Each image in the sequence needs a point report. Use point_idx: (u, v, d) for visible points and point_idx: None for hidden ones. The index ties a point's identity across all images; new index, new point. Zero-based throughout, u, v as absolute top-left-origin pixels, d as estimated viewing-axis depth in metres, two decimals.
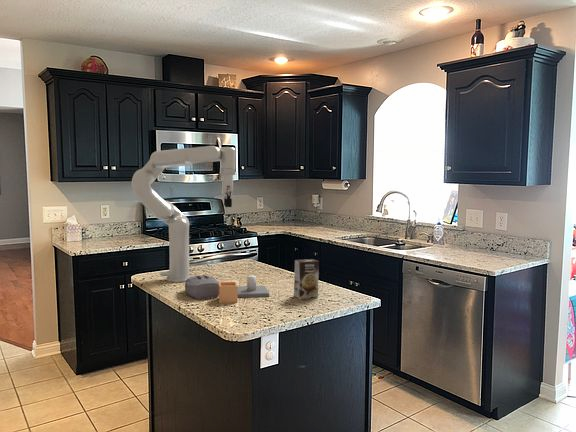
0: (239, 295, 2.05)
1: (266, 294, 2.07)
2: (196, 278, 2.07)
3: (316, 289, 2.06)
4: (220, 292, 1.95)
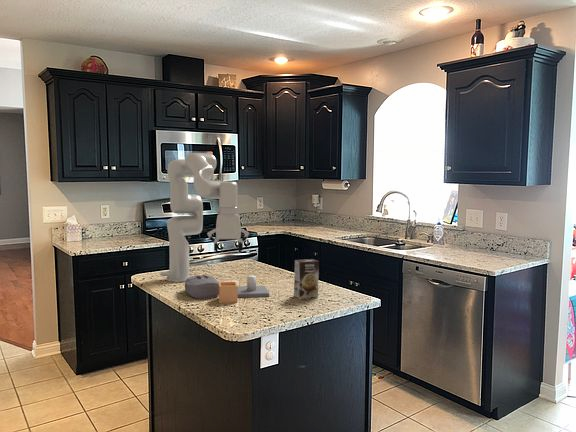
0: (239, 295, 2.05)
1: (266, 294, 2.07)
2: (196, 278, 2.08)
3: (316, 289, 2.06)
4: (220, 292, 1.95)
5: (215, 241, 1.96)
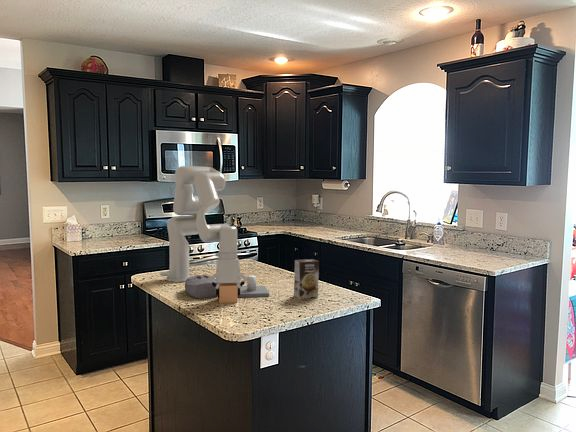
0: (239, 295, 2.05)
1: (266, 294, 2.07)
2: (196, 278, 2.08)
3: (316, 289, 2.06)
4: (220, 292, 1.95)
5: (217, 286, 1.97)
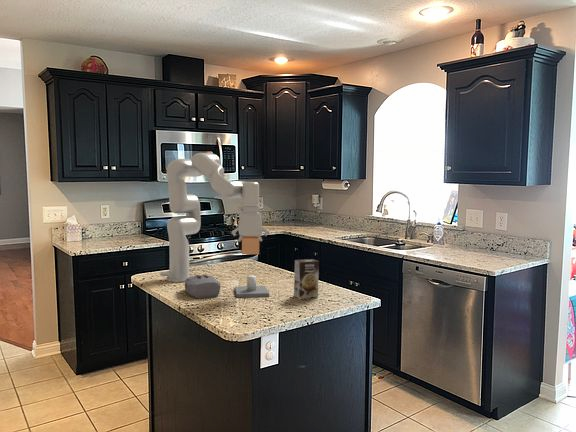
0: (239, 295, 2.05)
1: (266, 294, 2.07)
2: (196, 277, 2.08)
3: (316, 289, 2.06)
4: (243, 244, 2.06)
5: (240, 239, 2.08)
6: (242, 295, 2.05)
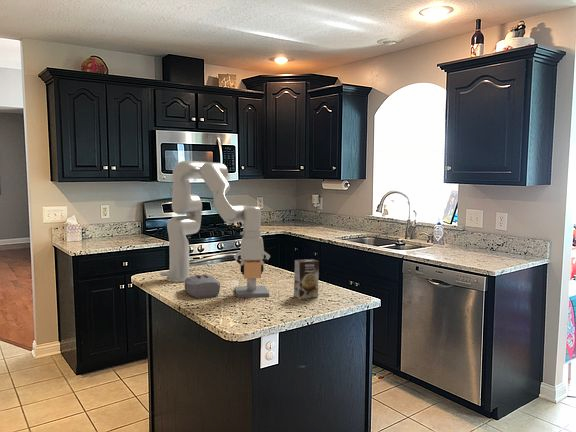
0: (239, 295, 2.05)
1: (266, 294, 2.07)
2: (196, 277, 2.09)
3: (316, 289, 2.06)
4: (245, 268, 2.07)
5: (242, 263, 2.09)
6: (242, 295, 2.05)
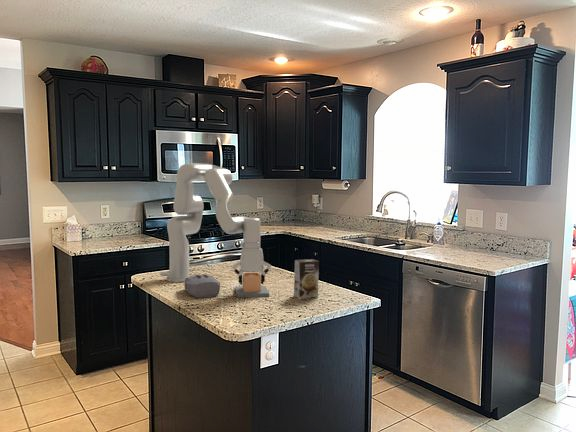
0: (239, 295, 2.05)
1: (266, 294, 2.07)
2: (196, 277, 2.09)
3: (316, 289, 2.06)
4: (244, 282, 2.08)
5: (240, 273, 2.10)
6: (242, 295, 2.05)
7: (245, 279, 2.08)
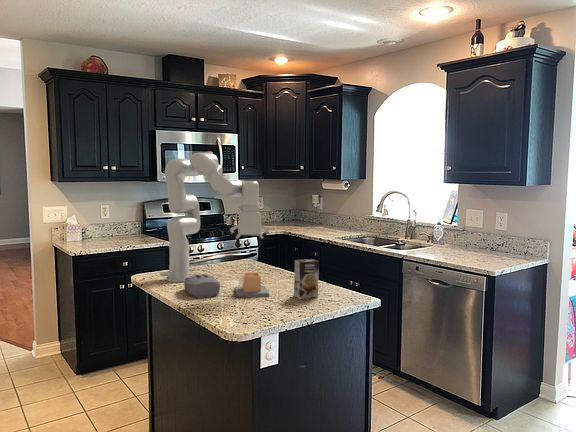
0: (239, 295, 2.05)
1: (266, 294, 2.07)
2: (195, 277, 2.09)
3: (316, 289, 2.06)
4: (244, 282, 2.08)
5: (237, 236, 2.09)
6: (242, 295, 2.05)
7: (245, 279, 2.08)
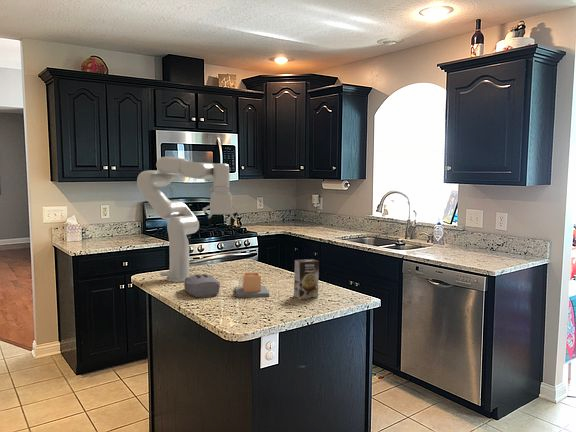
0: (239, 295, 2.05)
1: (266, 294, 2.07)
2: (195, 277, 2.10)
3: (316, 289, 2.06)
4: (244, 282, 2.08)
5: (209, 216, 2.21)
6: (242, 295, 2.05)
7: (245, 279, 2.08)
